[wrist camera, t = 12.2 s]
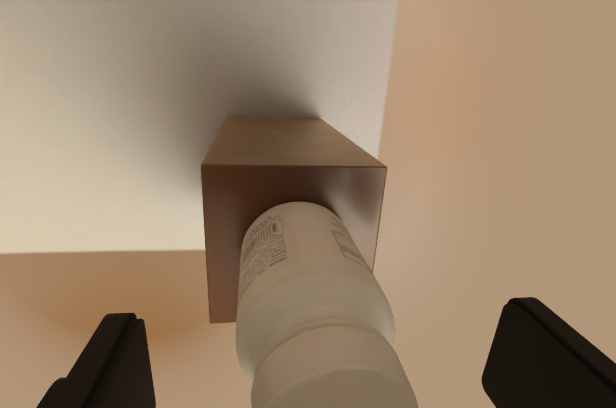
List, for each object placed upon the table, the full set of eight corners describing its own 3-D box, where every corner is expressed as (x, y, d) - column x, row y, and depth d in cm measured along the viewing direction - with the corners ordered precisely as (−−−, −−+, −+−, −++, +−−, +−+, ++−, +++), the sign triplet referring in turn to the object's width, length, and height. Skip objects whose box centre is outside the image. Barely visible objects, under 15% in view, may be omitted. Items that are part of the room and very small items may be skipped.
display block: (321, 119, 26) (388, 166, 13) (316, 205, 29) (367, 315, 16) (227, 115, 25) (200, 164, 12) (229, 205, 28) (209, 324, 15)
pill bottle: (242, 297, 15) (230, 517, 7) (240, 199, 13) (223, 357, 6) (344, 292, 15) (424, 490, 8) (353, 198, 14) (463, 339, 7)
